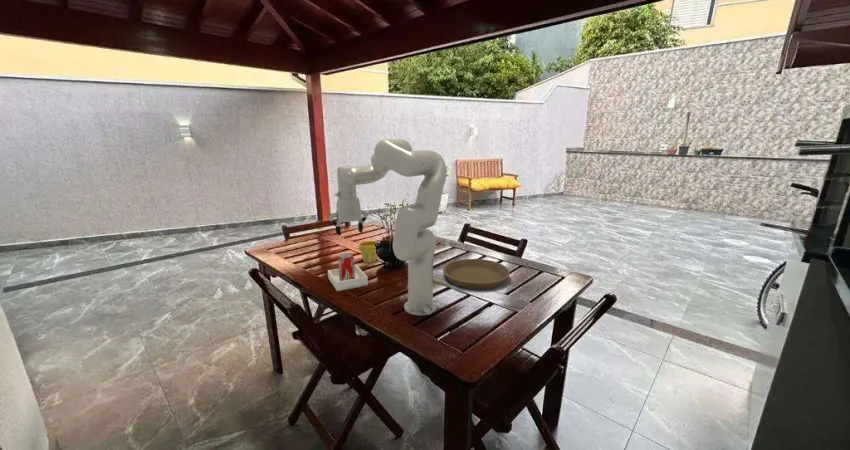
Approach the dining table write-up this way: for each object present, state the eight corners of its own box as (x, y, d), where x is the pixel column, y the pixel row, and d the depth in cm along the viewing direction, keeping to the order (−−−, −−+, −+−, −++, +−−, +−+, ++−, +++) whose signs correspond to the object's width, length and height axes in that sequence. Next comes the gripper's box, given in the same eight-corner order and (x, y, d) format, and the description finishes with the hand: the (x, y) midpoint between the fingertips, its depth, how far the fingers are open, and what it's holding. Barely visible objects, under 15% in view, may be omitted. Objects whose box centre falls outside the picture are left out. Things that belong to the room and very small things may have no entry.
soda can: (351, 283, 156) (350, 258, 154) (336, 282, 158) (335, 257, 155) (357, 277, 163) (356, 253, 160) (343, 276, 165) (342, 252, 162)
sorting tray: (368, 285, 157) (367, 276, 156) (336, 291, 151) (336, 282, 150) (357, 273, 171) (356, 265, 170) (328, 278, 164) (327, 270, 164)
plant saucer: (432, 284, 159) (432, 274, 158) (456, 262, 186) (456, 254, 185) (500, 297, 146) (500, 287, 145) (515, 272, 173) (515, 263, 172)
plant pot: (358, 258, 191) (357, 241, 189) (377, 256, 194) (376, 239, 192) (361, 265, 182) (360, 247, 179) (380, 263, 185) (380, 245, 182)
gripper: (329, 198, 144) (332, 238, 148) (369, 194, 152) (371, 232, 156) (325, 195, 151) (328, 234, 155) (363, 192, 159) (365, 229, 163)
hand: (349, 233), depth 155 cm, fingers open, 9 cm apart
